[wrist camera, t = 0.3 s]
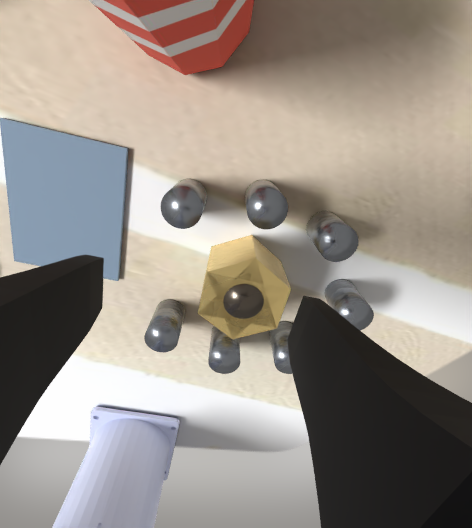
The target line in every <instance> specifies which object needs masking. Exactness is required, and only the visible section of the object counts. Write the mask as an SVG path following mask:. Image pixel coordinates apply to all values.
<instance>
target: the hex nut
mask: <svg viewBox="0 0 472 528" xmlns="http://www.w3.org/2000/svg"><path fill="white" fill-rule="evenodd" d="M290 291H291V288H290V285H289V282H288V279H287V277H286V274H285V271H284V269H283V266H282V263H281V261H280V260H279V259H278V258H277V257H276V256H274V255H273V254H272V253H271V252H270V251H269V250H268V249H267V248H266V247H265V246H263V245H262V244H261V243H260V242H259V241H258V240H257V239H256V238H255V237H254V236H252V235H250V236H246V237H243V238H239V239H236V240H232V241H229V242H225V243H222V244H218V245H215V246H211V251H210V256H209V260H208V265H207V270H206V274H205V279H204V284H203V289H202V294H201V300H200V305H199V310H198V314H199V315H200V316H202V317H203V318H204V319H206V320H207V321H208V322H210V323H211V324H212V325H214V326H215V327H217V328H218V329H219V330H221V331H222V332H223V333H225V334H226V335H227V336H229V337H230V338H232V339H236V338H240V337H244V336H248V335H252V334H256V333H260V332H265V331H269V330H273V329H277V327H278V324H279V321H280V319H281V316H282V313H283V310H284V307H285V305H286V302H287V299H288V296H289V294H290Z"/></svg>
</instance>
